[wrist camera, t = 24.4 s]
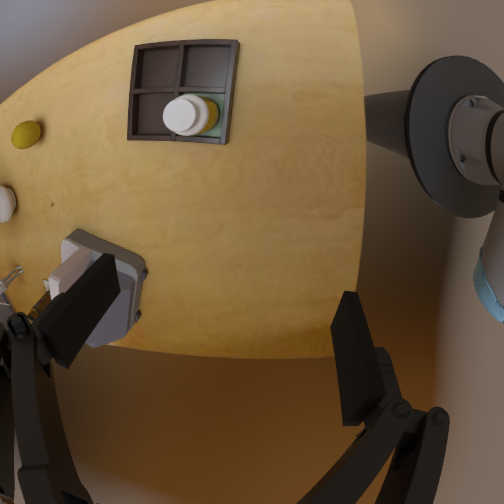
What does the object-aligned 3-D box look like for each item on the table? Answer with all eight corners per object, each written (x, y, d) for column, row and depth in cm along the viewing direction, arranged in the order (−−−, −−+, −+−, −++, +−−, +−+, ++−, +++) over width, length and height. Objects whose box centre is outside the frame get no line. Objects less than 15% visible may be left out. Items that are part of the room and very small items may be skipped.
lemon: (31, 121, 37) (3, 128, 30) (46, 115, 36) (18, 121, 29) (33, 146, 39) (6, 155, 32) (48, 141, 39) (20, 150, 32)
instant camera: (77, 216, 46) (28, 252, 33) (161, 268, 50) (126, 321, 37) (67, 285, 56) (33, 324, 43) (135, 329, 60) (109, 377, 47)
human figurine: (31, 286, 59) (-5, 325, 43) (25, 286, 60) (-10, 323, 44) (14, 250, 54) (-27, 285, 38) (8, 251, 54) (-31, 285, 38)
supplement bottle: (222, 97, 34) (204, 93, 26) (218, 133, 37) (200, 140, 28) (186, 96, 34) (158, 93, 26) (183, 131, 37) (155, 138, 28)
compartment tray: (240, 43, 30) (237, 39, 28) (228, 142, 38) (225, 144, 36) (141, 47, 31) (134, 45, 29) (134, 138, 38) (126, 140, 36)
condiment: (51, 303, 61) (28, 330, 50) (43, 279, 57) (17, 305, 46) (69, 310, 61) (46, 339, 50) (61, 285, 56) (34, 314, 46)
